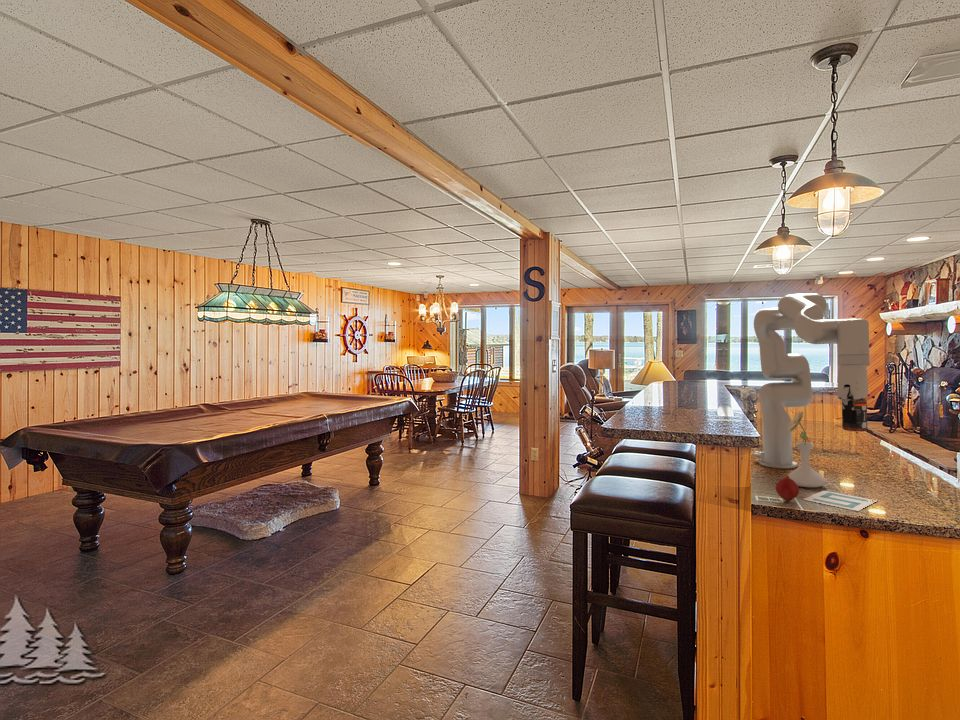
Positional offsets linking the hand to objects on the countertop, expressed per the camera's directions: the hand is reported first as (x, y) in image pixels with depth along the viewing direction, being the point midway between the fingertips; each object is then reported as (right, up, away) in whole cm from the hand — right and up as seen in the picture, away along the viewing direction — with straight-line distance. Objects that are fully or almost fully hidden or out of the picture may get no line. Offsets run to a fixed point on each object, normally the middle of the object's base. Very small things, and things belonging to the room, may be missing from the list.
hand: (854, 421), depth 147 cm
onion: (-19, -24, +1) cm, 31 cm away
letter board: (-4, -23, +1) cm, 24 cm away
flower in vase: (-4, -23, +16) cm, 29 cm away
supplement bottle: (0, -3, 0) cm, 3 cm away
